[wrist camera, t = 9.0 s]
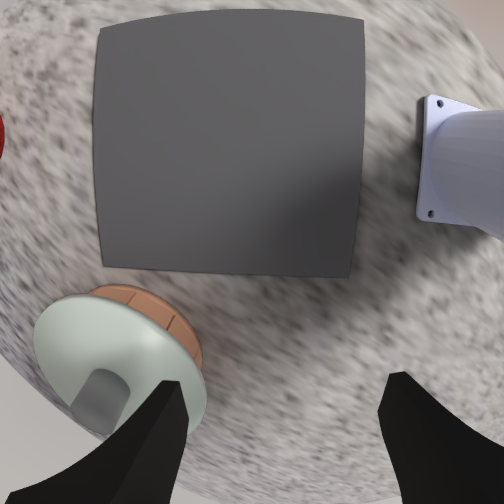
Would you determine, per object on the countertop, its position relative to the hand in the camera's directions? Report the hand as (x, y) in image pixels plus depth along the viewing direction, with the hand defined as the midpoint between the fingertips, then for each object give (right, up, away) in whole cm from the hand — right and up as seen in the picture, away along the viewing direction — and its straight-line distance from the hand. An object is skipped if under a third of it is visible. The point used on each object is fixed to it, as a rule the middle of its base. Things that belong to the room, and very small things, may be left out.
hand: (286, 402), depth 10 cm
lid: (-10, -3, +9) cm, 14 cm away
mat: (-3, +11, +7) cm, 14 cm away
